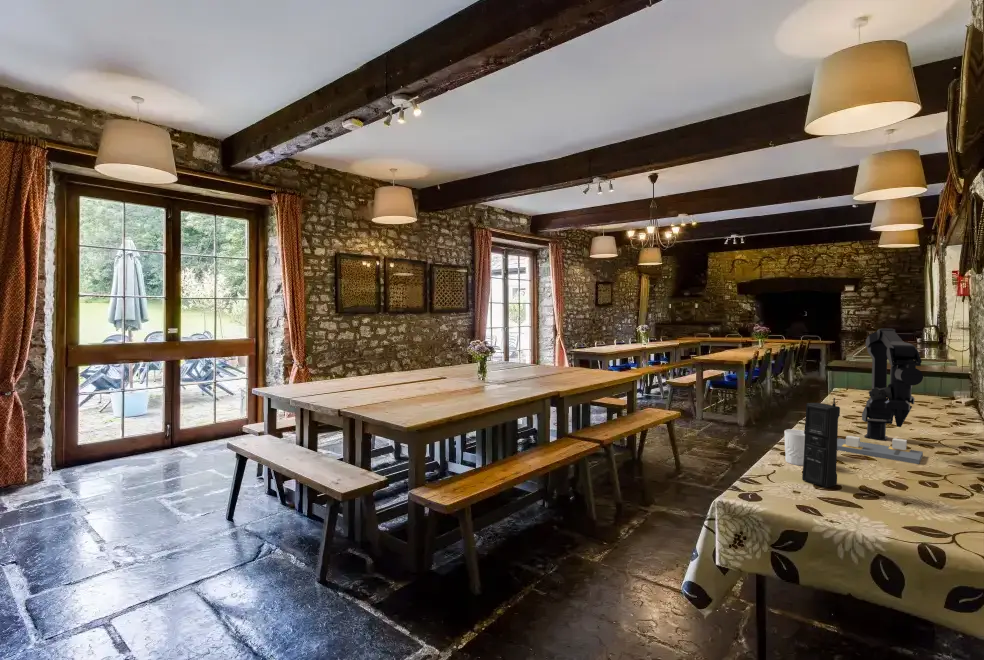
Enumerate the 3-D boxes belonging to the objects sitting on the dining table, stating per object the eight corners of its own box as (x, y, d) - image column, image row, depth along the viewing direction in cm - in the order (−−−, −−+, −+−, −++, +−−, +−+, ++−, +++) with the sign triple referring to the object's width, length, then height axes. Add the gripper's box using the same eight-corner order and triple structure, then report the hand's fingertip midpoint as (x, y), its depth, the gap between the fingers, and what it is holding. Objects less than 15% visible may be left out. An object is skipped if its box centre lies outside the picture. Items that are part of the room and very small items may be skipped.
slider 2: (893, 446, 173) (893, 438, 173) (906, 448, 170) (906, 440, 170) (891, 448, 171) (892, 439, 171) (905, 450, 168) (905, 441, 168)
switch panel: (838, 442, 185) (838, 437, 185) (922, 455, 168) (922, 451, 168) (830, 449, 176) (830, 444, 176) (918, 464, 159) (919, 459, 159)
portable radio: (797, 479, 144) (800, 394, 143) (810, 476, 147) (813, 393, 146) (824, 488, 137) (827, 399, 136) (838, 485, 140) (841, 397, 138)
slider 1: (847, 443, 176) (847, 435, 176) (859, 445, 174) (860, 437, 173) (845, 445, 174) (845, 437, 174) (858, 447, 171) (858, 438, 171)
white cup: (802, 467, 155) (803, 436, 155) (778, 461, 162) (779, 430, 162) (817, 464, 159) (818, 433, 158) (792, 457, 166) (793, 428, 165)
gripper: (875, 376, 180) (873, 418, 181) (866, 381, 167) (864, 427, 168) (915, 379, 172) (913, 423, 173) (909, 385, 159) (907, 433, 160)
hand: (898, 426), depth 168 cm, fingers closed
